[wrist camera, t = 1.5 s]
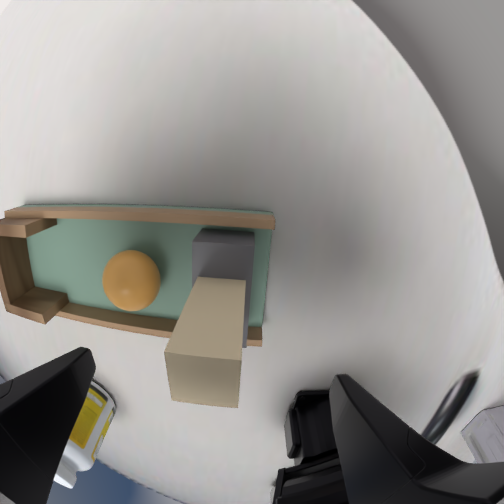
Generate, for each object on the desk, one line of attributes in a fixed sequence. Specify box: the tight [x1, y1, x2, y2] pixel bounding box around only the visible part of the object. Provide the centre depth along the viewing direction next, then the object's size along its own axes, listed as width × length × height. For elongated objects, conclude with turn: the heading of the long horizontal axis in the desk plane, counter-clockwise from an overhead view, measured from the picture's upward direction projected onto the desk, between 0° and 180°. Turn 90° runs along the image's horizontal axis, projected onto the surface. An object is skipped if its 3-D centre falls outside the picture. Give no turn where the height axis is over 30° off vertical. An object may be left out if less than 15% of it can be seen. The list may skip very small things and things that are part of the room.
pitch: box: [4, 204, 275, 347], centre depth 16 cm, size 20×8×2 cm, turn 86°
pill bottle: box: [54, 381, 115, 488], centre depth 17 cm, size 6×6×12 cm
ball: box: [102, 250, 161, 311], centre depth 15 cm, size 4×4×4 cm
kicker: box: [164, 228, 255, 408], centre depth 12 cm, size 3×6×9 cm, turn 176°
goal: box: [0, 218, 69, 324], centre depth 15 cm, size 5×7×4 cm
